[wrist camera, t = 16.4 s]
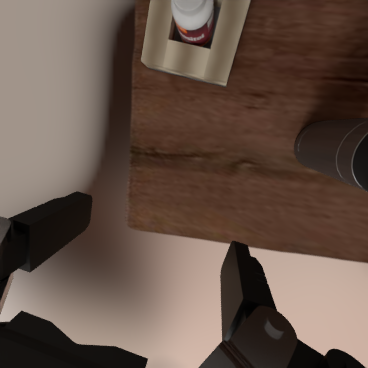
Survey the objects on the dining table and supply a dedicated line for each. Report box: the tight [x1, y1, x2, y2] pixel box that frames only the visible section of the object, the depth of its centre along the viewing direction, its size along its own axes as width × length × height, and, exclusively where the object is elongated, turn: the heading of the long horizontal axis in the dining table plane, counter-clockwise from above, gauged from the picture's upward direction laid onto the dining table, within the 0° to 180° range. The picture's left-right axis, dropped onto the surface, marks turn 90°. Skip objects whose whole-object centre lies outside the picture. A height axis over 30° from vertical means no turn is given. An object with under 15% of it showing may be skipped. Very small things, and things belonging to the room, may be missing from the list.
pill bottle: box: [171, 0, 214, 47], centre depth 29 cm, size 6×6×11 cm
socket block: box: [141, 0, 251, 87], centre depth 33 cm, size 16×16×4 cm
